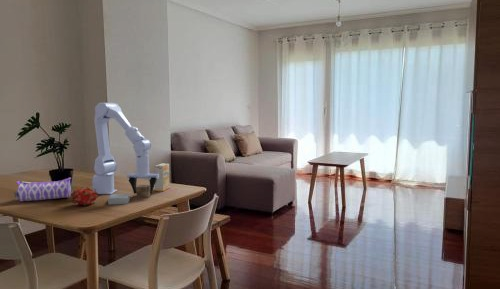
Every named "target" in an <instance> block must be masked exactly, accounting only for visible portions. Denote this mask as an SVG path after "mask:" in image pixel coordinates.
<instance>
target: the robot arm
mask: <svg viewBox="0 0 500 289" xmlns="http://www.w3.org/2000/svg"><path fill="white" fill-rule="evenodd" d="M94 111H95V114H94V120H93V121H94V127H95V135H96V136H95V137H96V143H97V152H98V156H97V157H96V158H95V159H94V167H93V171H94V172H95V174H94V175H93V176H92V179H91V180H92V181H91V182H92V190H94V191H96V192H97V193H98V194H99V195H111V194H115V192H117V191H118V189H115V178H114V177H115V175H114V174H115V172H116V171H117V169H118V167H117V166H118V165H117V163H116V160H115V157H114V156H113V155H112V154H111V147H110V138H109V129H108V122H109V121H110V120H111V119H114V120H115V121H116V122H117V123H118V124H119V125H120V127H121V128H123V130H125V133H124V135H125V136H126V137H127V138H128V140H129V141H130V143H131V144H132V148H133V151H134V152H135V160H136V162H135V164H136V167H135V168H136V169H135V170H136V173H135V172H134V173H126V179H128V182H129V184H130V186H131V188H132V191H133V192H132V193H133V194H134V195H135V194H136V187H137V179H148V182H149V185H150V195H152V194H153V193H154V189H155V182H156V180H157V179H158V178H159V174H155V173H152V172H151V173H150V156H149V155H150V150H151V148H152V143H151V141H150V139H148V138H145V136H144V135H142V134H141V131H139V128H138V127H136V126H132V125H131V123H130V122H129V121H128V119H127V118H126V116H125V114H124V113H123V111H122V108H121V106H119V104H118V103H117V102H99V103H97V105H96V106H95V107H94ZM136 195H137V194H136Z"/></svg>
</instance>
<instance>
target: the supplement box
mask: <svg viewBox="0 0 500 289" xmlns="http://www.w3.org/2000/svg"><path fill="white" fill-rule="evenodd" d="M154 174H159V178H158V179H157V180H156V182H155V185H154V191H155V192H165V191H166V190H168V189H170V188H171V187H170V184H171V183H170V163H159V164H157V165H156V164H155V165H154Z"/></svg>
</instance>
